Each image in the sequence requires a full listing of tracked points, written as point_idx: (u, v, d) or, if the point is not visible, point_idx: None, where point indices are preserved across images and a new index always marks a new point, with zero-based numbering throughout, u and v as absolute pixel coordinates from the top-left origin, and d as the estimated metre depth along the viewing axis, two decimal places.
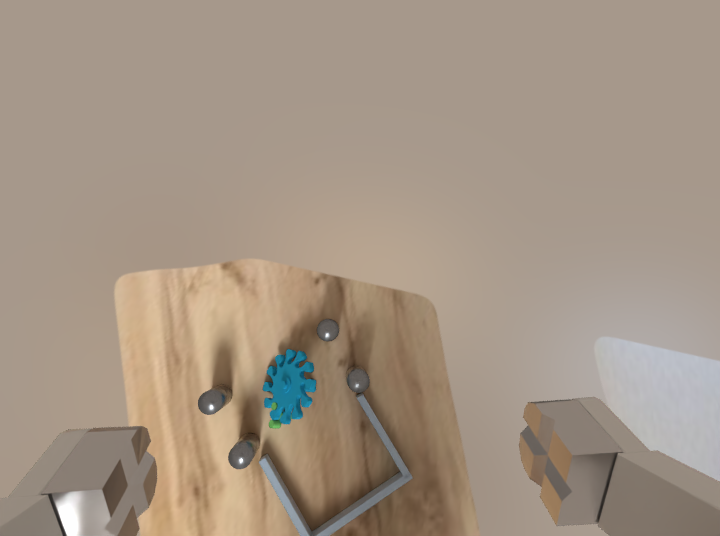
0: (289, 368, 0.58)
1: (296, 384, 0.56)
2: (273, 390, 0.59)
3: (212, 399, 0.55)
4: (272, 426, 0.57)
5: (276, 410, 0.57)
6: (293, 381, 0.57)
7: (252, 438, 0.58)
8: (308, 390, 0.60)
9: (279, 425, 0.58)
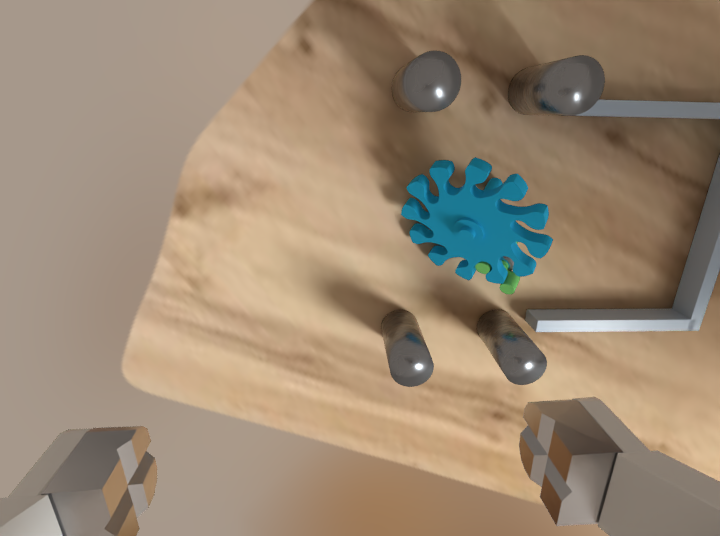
0: (444, 206, 0.27)
1: (487, 213, 0.26)
2: (456, 252, 0.30)
3: (409, 362, 0.28)
4: (512, 290, 0.29)
5: (494, 269, 0.29)
6: (476, 214, 0.26)
7: (497, 323, 0.32)
8: None
9: (517, 276, 0.30)
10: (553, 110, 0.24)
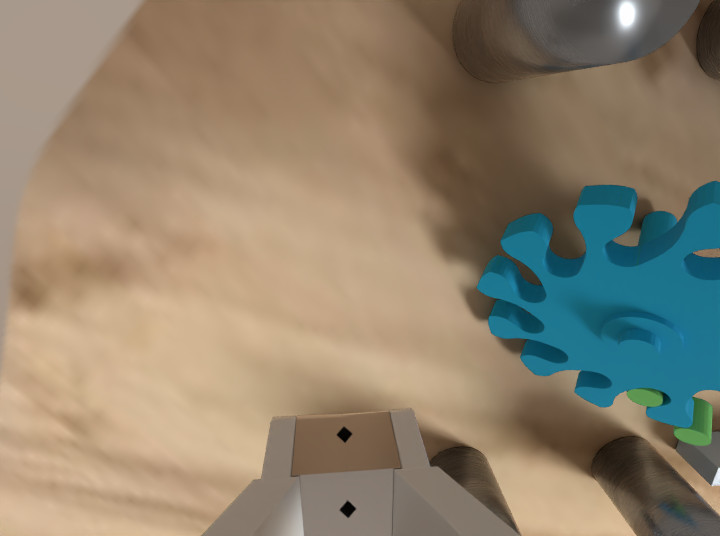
0: (590, 284, 0.12)
1: (714, 311, 0.11)
2: (588, 365, 0.15)
3: None
4: (706, 441, 0.14)
5: (675, 404, 0.14)
6: (676, 310, 0.11)
7: (645, 477, 0.17)
8: None
9: (710, 410, 0.15)
10: None
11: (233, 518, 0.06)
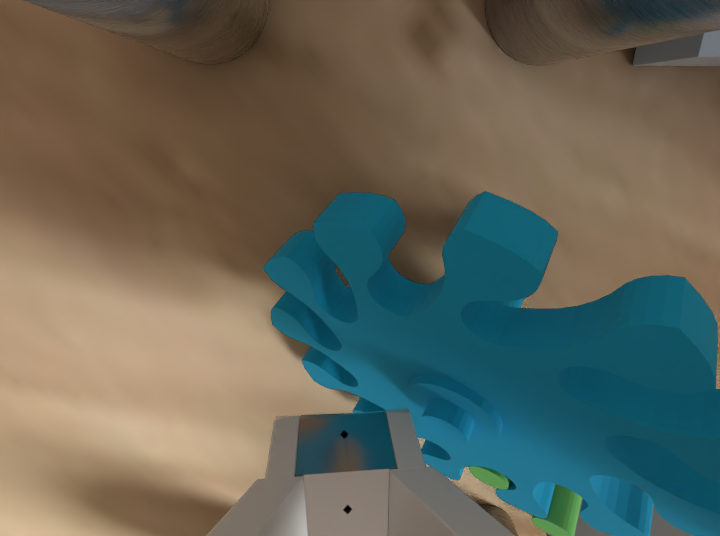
0: (376, 335, 0.08)
1: (522, 389, 0.07)
2: (418, 431, 0.11)
3: None
4: None
5: (522, 491, 0.10)
6: (480, 381, 0.08)
7: None
8: None
9: None
10: (679, 5, 0.05)
11: (237, 518, 0.06)
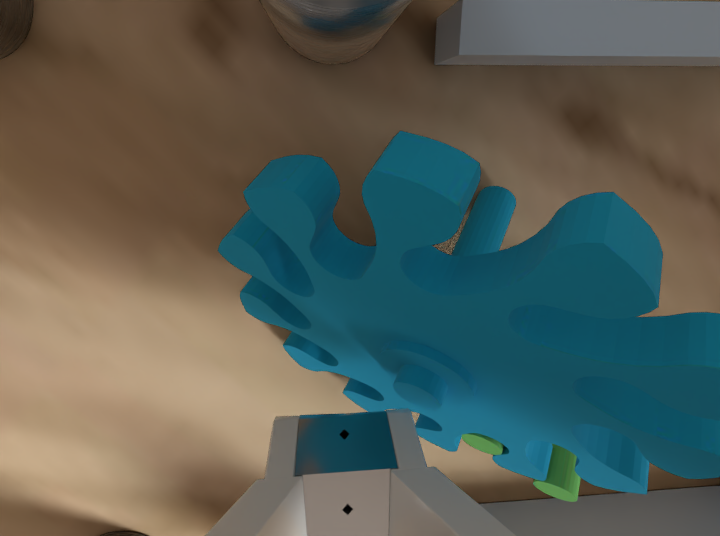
0: (335, 305, 0.08)
1: (481, 340, 0.07)
2: (405, 403, 0.11)
3: None
4: (571, 496, 0.11)
5: (516, 454, 0.10)
6: (441, 338, 0.07)
7: None
8: (502, 235, 0.10)
9: None
10: None
11: (236, 518, 0.06)
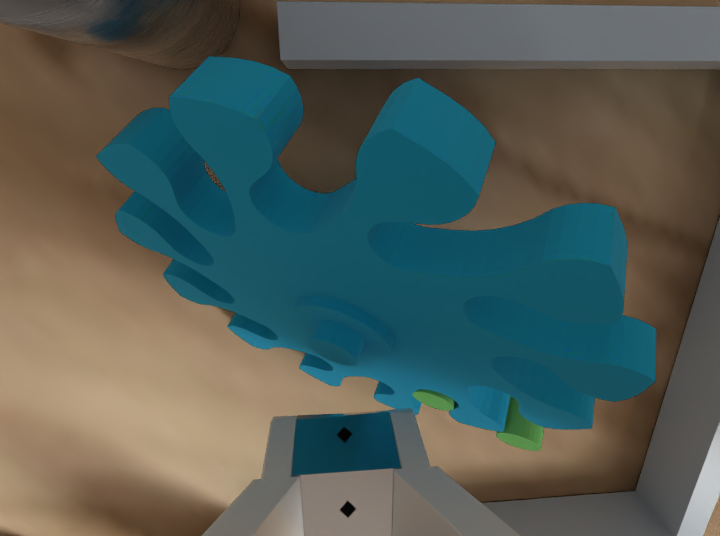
0: (237, 270, 0.08)
1: (365, 279, 0.06)
2: (351, 369, 0.10)
3: None
4: (535, 444, 0.10)
5: (465, 406, 0.10)
6: (334, 286, 0.07)
7: None
8: None
9: None
10: None
11: (233, 518, 0.06)
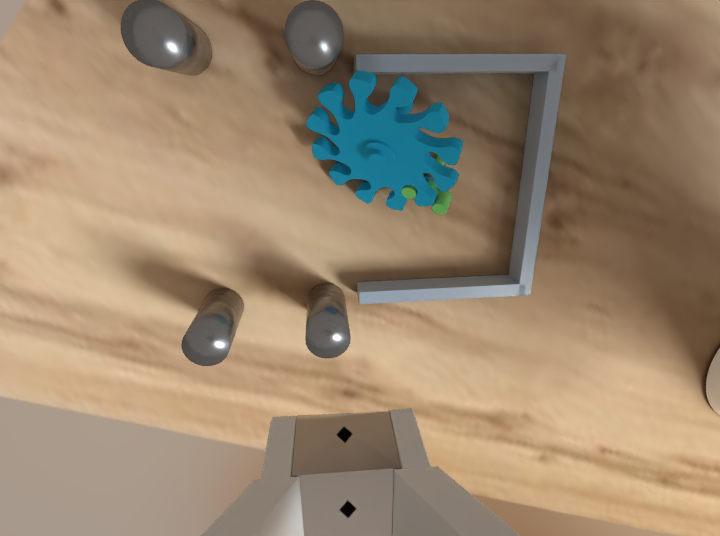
0: (347, 134, 0.26)
1: (388, 129, 0.24)
2: (378, 183, 0.28)
3: (201, 339, 0.27)
4: (445, 208, 0.28)
5: (419, 191, 0.27)
6: (379, 134, 0.25)
7: (316, 297, 0.31)
8: (406, 113, 0.28)
9: (448, 194, 0.28)
10: (301, 63, 0.22)
11: (233, 518, 0.06)
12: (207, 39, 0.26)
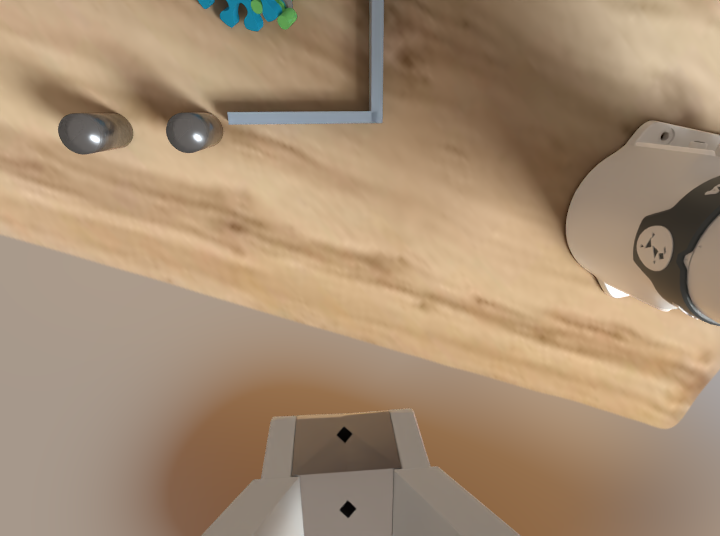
0: None
1: None
2: None
3: (75, 127, 0.32)
4: (287, 21, 0.32)
5: (263, 2, 0.32)
6: None
7: None
8: None
9: (291, 10, 0.33)
10: None
11: (233, 518, 0.06)
12: None
